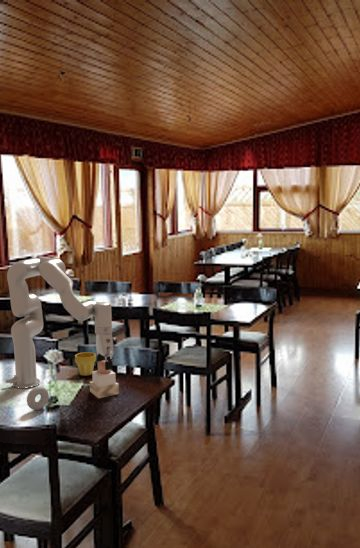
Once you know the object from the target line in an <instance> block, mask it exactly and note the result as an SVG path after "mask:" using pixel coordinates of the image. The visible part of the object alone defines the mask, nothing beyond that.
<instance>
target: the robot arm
mask: <svg viewBox="0 0 360 548" xmlns="http://www.w3.org/2000/svg"><path fill="white" fill-rule="evenodd" d="M65 272H66V265H65V262H63V260H61V259H60V258H44V257H35V258H33V257H32V258H28V259H23V260H19V261H16V262H15V263H12V265H10V266H9V268H8V270H7V273H6V278H7V283H8V284H7V285H8V290H9V300H10V307H11V308H10V309H11V312H12V314H13V315H14V317H17V318H21V319H19V320H17V321H15V322H14V323H13V324H12V326H11V328H10V335H11V338H12V341H13V342H12V343H13V352H14V371H15V374H14V375H13V377H12V378H5V383H6V384H12V386H13V387H14V386H15V387H19V388H18V389H25V388H24V387H31V386H35V385H37V384H39V383H40V384H41V380H40V379H39V378H37V361H36V360H37V359H36V346H35V343H34V340H33V337H35V336H36V335H38V334H40V333H41V332H42V330H43V329H44V317H43V309H42V302H41V300H40V298H39V297H38V296H37V295H36V294H34V293H29V286H28V283H27V281H26V279H29V278H34V277H37V276H38V277H39V276H41V277H42V278H43V279H44V280H45V281H46V283H47V284H48V285H49V286H50V287H52V289H53V290H55V292H56V293H57V294H58V296H59V300H60V302H61V304H62V306H63V308H64V309H65V310H66V311H67V312H68V313H69V314H70V315H71V316H72V318H74V319H75V320H77V321H80V322H83V321H84V322H85V321H86V320H88V319H91V318H93V317H94V333H95V335H96V336H95V348H96V350H95V351H96V364H97V365H98V362H99V361H102V360H106V361H105V370H111V371H112V370H113V358H114V351H115V350H114V341H113V335H112V333H113V321H112V318H113V317H112V305H111V303H110V302H107V301H101V302H100V301H95V300H86V301H84V302H80V301H79V299H78V298H77V297H76V296H75V294H74V291H73V286H74V281H73V279H71V278H70V277H69V276H68V275H67V274H66V273H65ZM23 317H24V318H23ZM40 384H39V385H40ZM37 386H38V385H37ZM15 387H14V388H15ZM35 387H36V386H35ZM31 388H32V387H31Z"/></svg>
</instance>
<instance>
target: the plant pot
mask: <svg viewBox="0 0 360 548" xmlns="http://www.w3.org/2000/svg"><path fill="white" fill-rule="evenodd" d="M74 361H75V363H76V366H77V369H78V373H79V376H83V377H85V376H92V371H94V367H95V364H96V363H95V362H97V353H94V352H84V351H83V352H80V353H79V352H78V353H76V354H75V355H74Z"/></svg>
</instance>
